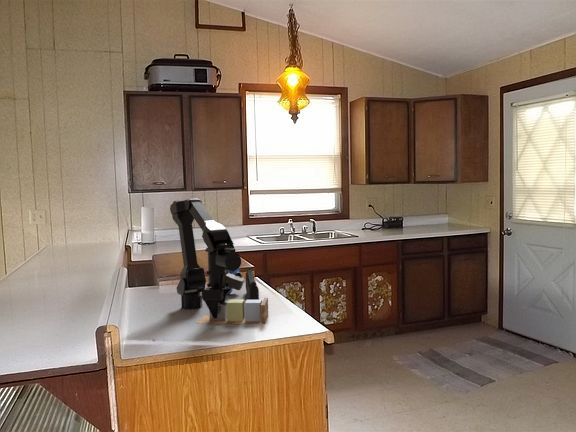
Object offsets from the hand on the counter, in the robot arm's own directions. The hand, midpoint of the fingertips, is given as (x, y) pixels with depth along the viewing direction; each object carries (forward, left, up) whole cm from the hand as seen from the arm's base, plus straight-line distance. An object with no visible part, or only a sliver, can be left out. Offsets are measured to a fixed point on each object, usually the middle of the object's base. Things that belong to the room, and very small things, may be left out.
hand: (218, 314), depth 152 cm
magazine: (+7, +26, -3) cm, 27 cm away
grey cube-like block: (0, 0, -2) cm, 2 cm away
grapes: (-5, +39, -3) cm, 39 cm away
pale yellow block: (+6, 0, -2) cm, 6 cm away
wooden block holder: (+5, 0, -3) cm, 5 cm away
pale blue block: (+12, 0, -2) cm, 12 cm away
